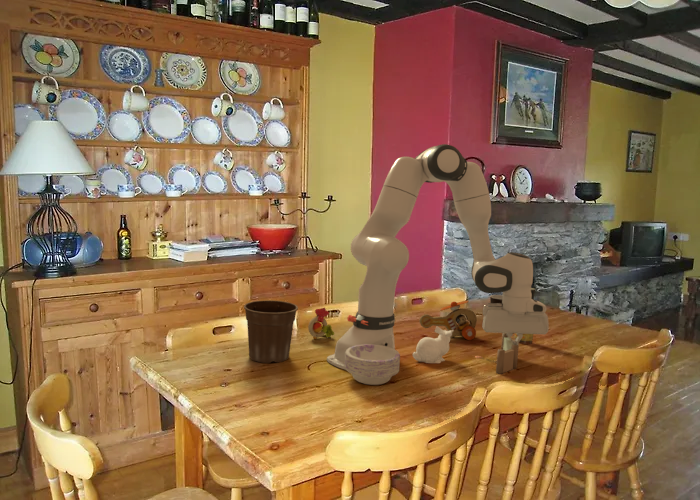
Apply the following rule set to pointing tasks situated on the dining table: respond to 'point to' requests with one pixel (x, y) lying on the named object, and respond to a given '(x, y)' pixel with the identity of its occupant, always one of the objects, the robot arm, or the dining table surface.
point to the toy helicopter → (454, 321)
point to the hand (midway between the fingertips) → (513, 346)
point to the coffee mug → (496, 299)
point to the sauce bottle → (527, 337)
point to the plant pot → (270, 329)
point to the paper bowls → (372, 363)
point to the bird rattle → (317, 327)
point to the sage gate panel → (506, 342)
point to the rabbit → (433, 347)
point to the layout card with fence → (506, 359)
